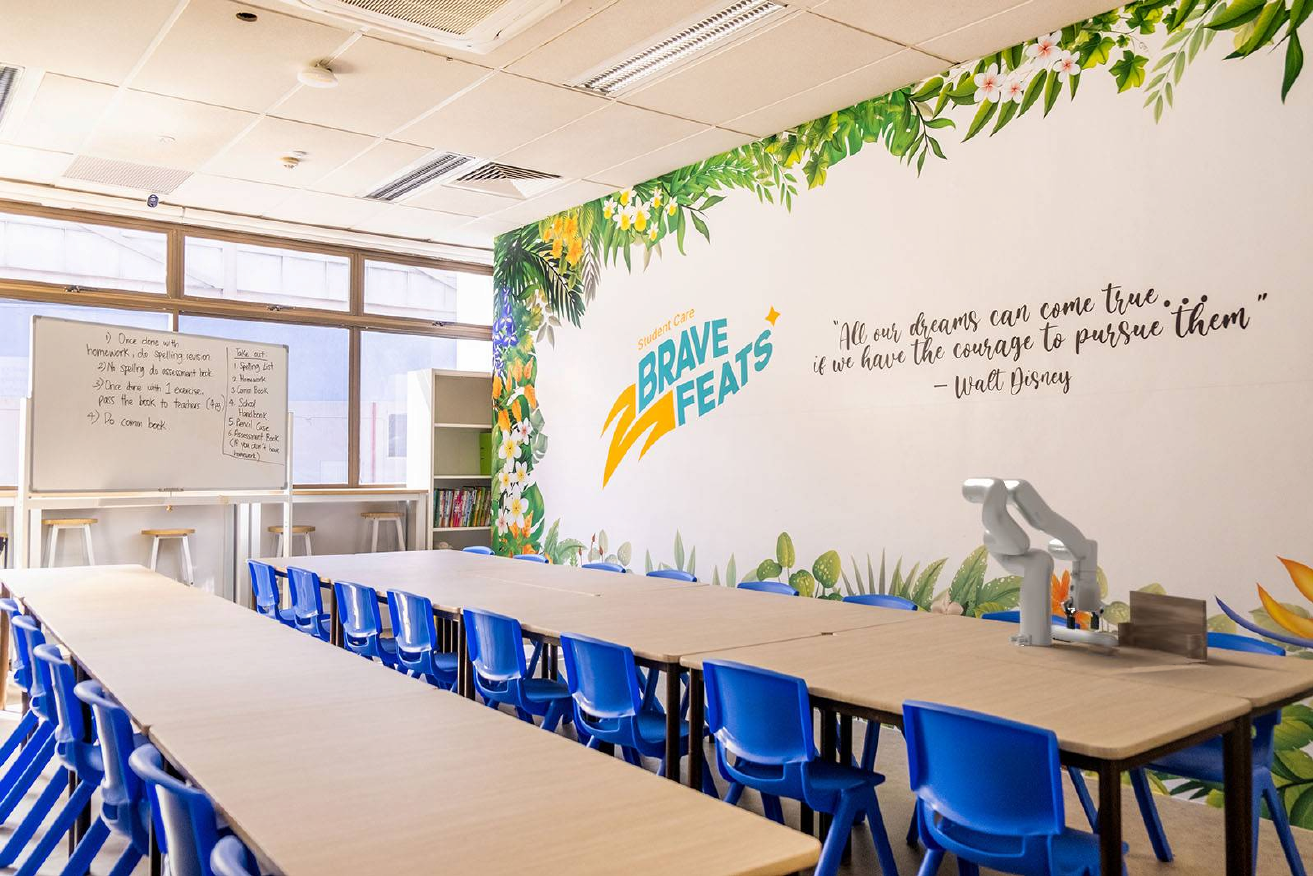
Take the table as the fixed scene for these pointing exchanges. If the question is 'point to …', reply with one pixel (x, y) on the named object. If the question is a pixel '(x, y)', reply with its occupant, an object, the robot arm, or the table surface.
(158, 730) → the table surface
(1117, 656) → the offcut low
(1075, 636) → the tube
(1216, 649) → the table surface
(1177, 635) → the wooden panel stand
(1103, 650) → the offcut top
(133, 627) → the table surface
